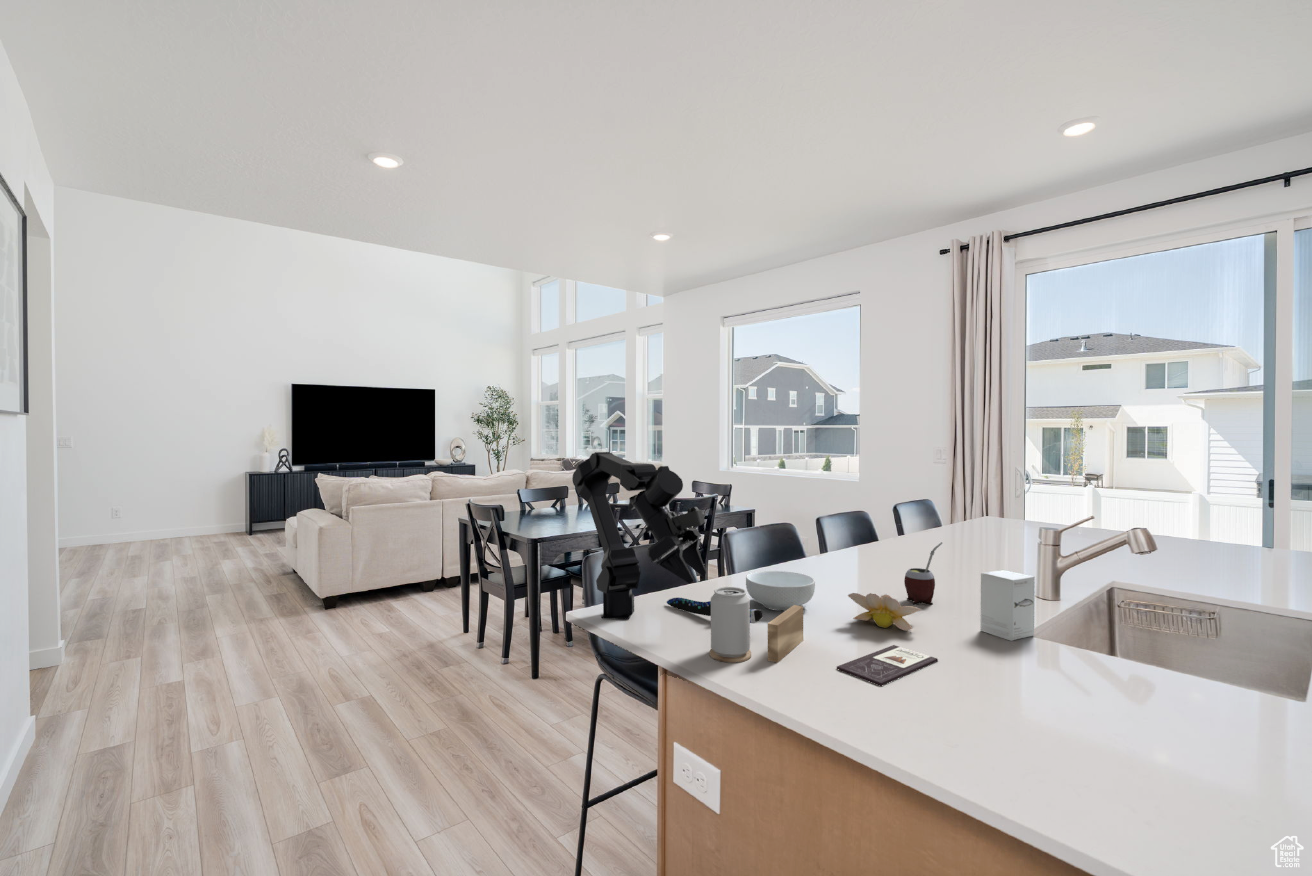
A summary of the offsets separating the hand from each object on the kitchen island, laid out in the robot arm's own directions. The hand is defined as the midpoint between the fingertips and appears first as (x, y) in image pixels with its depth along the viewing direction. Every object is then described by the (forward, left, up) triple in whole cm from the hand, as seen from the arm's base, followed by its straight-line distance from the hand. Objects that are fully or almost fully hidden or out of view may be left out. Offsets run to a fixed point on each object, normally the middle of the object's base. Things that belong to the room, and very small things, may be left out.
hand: (698, 578), depth 123 cm
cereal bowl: (+18, +27, -13) cm, 35 cm away
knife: (+2, +14, -13) cm, 20 cm away
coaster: (+7, -7, -13) cm, 16 cm away
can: (+7, -7, -13) cm, 16 cm away
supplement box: (+64, +13, -13) cm, 67 cm away
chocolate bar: (+35, -8, -14) cm, 39 cm away
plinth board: (+17, -3, -13) cm, 22 cm away
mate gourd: (+53, +35, -13) cm, 65 cm away
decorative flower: (+41, +15, -13) cm, 45 cm away
